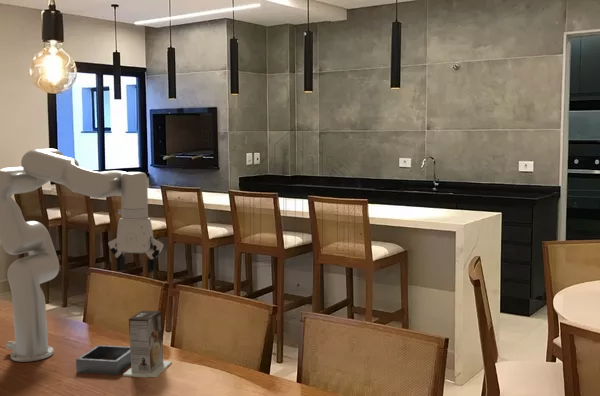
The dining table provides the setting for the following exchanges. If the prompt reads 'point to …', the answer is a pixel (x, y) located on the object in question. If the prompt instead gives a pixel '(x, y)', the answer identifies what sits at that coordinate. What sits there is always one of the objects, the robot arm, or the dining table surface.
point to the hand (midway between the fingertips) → (136, 270)
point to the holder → (95, 365)
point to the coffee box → (146, 341)
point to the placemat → (153, 374)
